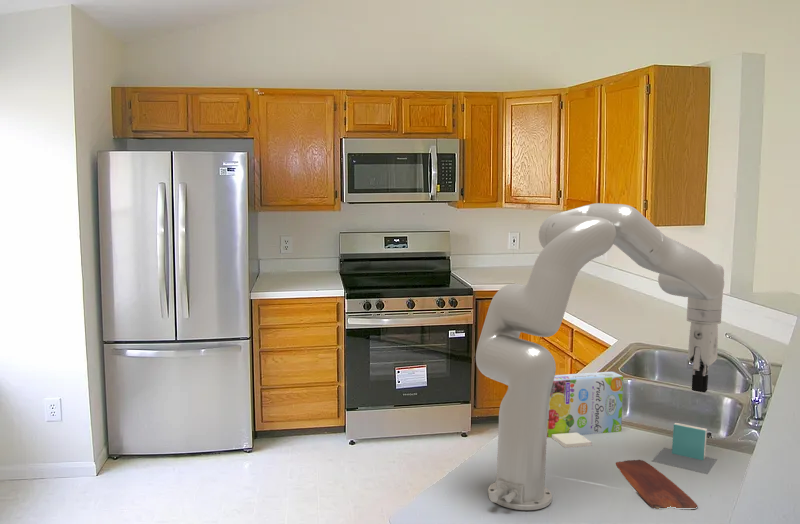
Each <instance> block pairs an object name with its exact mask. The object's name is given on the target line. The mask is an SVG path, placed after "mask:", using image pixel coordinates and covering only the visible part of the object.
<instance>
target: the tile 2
mask: <svg viewBox="0 0 800 524" xmlns="http://www.w3.org/2000/svg"><path fill="white" fill-rule="evenodd" d="M672 429H673V430H672V445H671V449H672V454H677V455H681V456H686V457H690V458H695V459H699V460H704V459H705V457H706V451H707V449H706V447H707V436H708V435H707V434H708V428H703V427H699V426H695V425H690V424H683V423H679V422H675V423H673V428H672Z"/></svg>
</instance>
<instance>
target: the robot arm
mask: <svg viewBox="0 0 800 524" xmlns="http://www.w3.org/2000/svg"><path fill="white" fill-rule="evenodd" d="M538 240H539V243H540V245H541V247H542V248H543V249H542V250H541V251H540V253H539V254H538V256H537V258H536V260H535V262H534V264H533V267H532V270H531V273H530V275H529V278H528V281H527V283H526V284H520V283H510V284H506V285H504V286H502V287H501V288H500V289H499V290H498V291H496V293H495V294H494V295H493V297H492V299H491V302H490V304H489V305H488V309H487V313H486V316H485V319H484V322H483V326H482V329H481V333H480V336H479V339H478V342H477V346H476V353H475V363H476V364H475V365H476V367H477V369H478V371H480V373H481V374H482V375H483V376H485V377H486V378H488V379H491V380H493V381H496V382H499V383H501V384H504V385H506V386H508V387H507V390H506V392H505V394H504V396H503V398H502V400H501V402H500V405H499V410H498V411H499V412H498V432H497V433H498V435H497V457H496V459H497V461H496V480H495V482H493V483H491V484H490V485H489V486H488V489H487V495H488V499H489V500H490V502H491V503H495V504H497V505H499V506H502V507H504V508H507V509H511V510H517V511H536V510H537V511H538V510H541V509H544V508H546V507H548V506H549V505H550V504H552V502H553V494H552V491H551V490H550V489H549V488H548V487H546V486H545V481H546V463H547V461H546V460H547V459H546V458H547V444H548V443H547V442H548V441H547V440H548V437H547V426H548V407H549V399H550V393H551V388H552V385H553V381H554V377H555V375H556V371H557V369H556V367H557V364H556V361H555V358H554V356H553V355H552V353H551V352H550V350H549V349H547V348H546V347H545V346H542V345H541V344H538V343H536V342H533V341H530V340H527V339H523V338H520V335H521V333H524V334H527V335H531V336H535V337H540V338H541V337H542V338H547V337H552V336H554V335H555V334H556V333H557V332H558V331H559V329H560V328H561V324H562V322H563V320H564V316H565V313H566V309H567V306H568V302H569V300H570V296H571V294H572V290H573V285H574V284H575V281H576V278H577V276H578V273H580V271H581V270H582V268H584V266H586V264H588V263H589V262H591V261H593V260H595V259H596V258H598V257H601V256H603V255H605V254H606V253H607V252H608V251H610V250H611V249H612V247H613V245H614V246H615V247H617V248H618V249H619V250H620V251H622V252H623V253H624V254H625V255H626V256H627V257H628V258H630V259H631V260H632V261H633V262H634V263H635V264H636V265H638V266H639V267H641V268H644V269H646V270H648V271H651V272H653V273H657V274H658V278H657V282H658V285H659V287H660V289H661V291H663V292H664V293H666V294H669V295H672V296H677V297H684V298H687V308H686V321H687V322H689V323H690V328H689V336H688V337H689V338H688V352H687V360H688V362H689V364H692V375H691V376H692V377H691V378H692V380H691V390H692V392H699V393H706V392H707V391H708V385H709V384H708V383H709V374H708V373H709V367H710V366H712V364H714V362H715V361H717V359H718V347H719V346H718V345H719V344H718V343H719V342H718V339H719V338H718V337H719V334H718V333H719V332H718V331H719V327H718V325H719V324H721V323H722V314H723V313H722V311H723V309H722V308H723V296H724V295H723V294H724V287H725V279H724V278H725V270H724V266H722V265H720V264H717V263H714V262H713V261H712V260H710V258H709V257H707V256H705V255H704V254H703V253H701V252H699V251H697V250H695V249H693V248H692V247H689V246H688V245H685V244H683V243H681V242H679V241H678V240H676V239H673V238H671V237H668V236H666V235H665V234H664V233H663V232H662V231H661V230H660V229H658V228H657V227H656V226H655V225H654V224H653V223H652V222H651V221H650V220H649V219H648V218H647V217H645V216H644V214H642V212H640V211H639V210H637V208H635V207H634V206H631V205H629V204H624V203H623V204H622V203H601V202H597V203H591V204H585V205H582V206H579V207H576V208H572V209H568V210H565V211H560V212H558V213H557V212H556V213H554V214H551V215H549V216H548V217H547V218H546V219H544V220H543V222H542V223H541V225H540V227H539V230H538Z"/></svg>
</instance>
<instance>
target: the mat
mask: <svg viewBox="0 0 800 524" xmlns="http://www.w3.org/2000/svg"><path fill="white" fill-rule="evenodd" d="M717 461H718V458H714V457H709V456H705V459H704V460H699V459H695V458H690V457H686V456H681V455H677V454H672V448H667V447H663V448H662V449H661V450H660V451H659V452H658V453H657V454H656V456H655V457H654V458H653V459H652V460H651V462H653V463H658V464H662V465H666V466H670V467H674V468H679V469H683V470H687V471H692V472H696V473H701V474H705V475H708V474H709V473H710V471H711V470H712V468H713V467H714V465H715V463H716V462H717Z"/></svg>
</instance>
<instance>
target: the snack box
mask: <svg viewBox="0 0 800 524" xmlns="http://www.w3.org/2000/svg"><path fill="white" fill-rule="evenodd" d="M623 398H624V375H622V374H619V373H618V372H616V371H602V372H601V371H599V372H598V371H597V372H586V373H585V372H584V373H582V372H581V373H570V374H569V373H568V374H567V373H566V374H555V377H554V381H553V385H552V388H551V393H550V399H549V407H548V426H547V438H552V434H563V433H575V432H577V433H579V434H580V435H582V436H583V435H593V434H594V435H596V434H606V433H607V434H608V433H618V432H622V425H623V424H622V422H623V420H622V419H623V402H624V401H623Z"/></svg>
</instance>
